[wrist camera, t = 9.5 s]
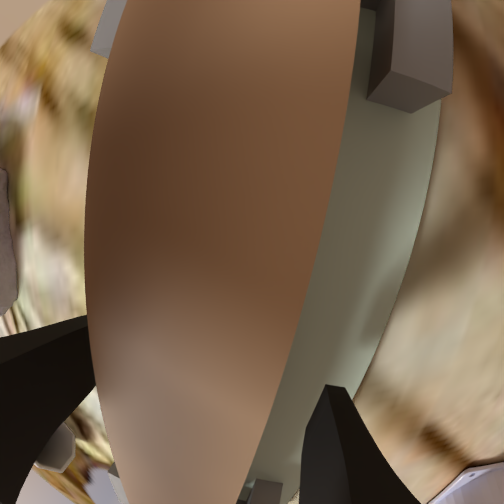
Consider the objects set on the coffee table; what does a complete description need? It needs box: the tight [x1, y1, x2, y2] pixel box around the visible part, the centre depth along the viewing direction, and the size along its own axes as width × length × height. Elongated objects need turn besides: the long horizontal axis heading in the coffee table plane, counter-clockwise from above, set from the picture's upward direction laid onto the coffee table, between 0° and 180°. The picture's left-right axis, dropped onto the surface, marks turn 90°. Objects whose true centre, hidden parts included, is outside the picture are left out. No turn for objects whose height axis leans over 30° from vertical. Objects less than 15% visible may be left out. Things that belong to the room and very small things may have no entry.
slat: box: [84, 0, 361, 504], centre depth 8 cm, size 4×22×5 cm, turn 169°
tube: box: [34, 422, 75, 473], centre depth 19 cm, size 5×5×25 cm
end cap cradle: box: [90, 0, 453, 504], centre depth 10 cm, size 11×28×4 cm, turn 169°
